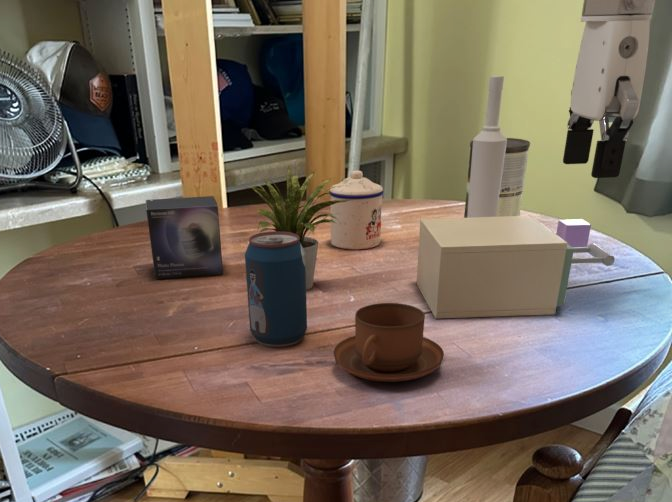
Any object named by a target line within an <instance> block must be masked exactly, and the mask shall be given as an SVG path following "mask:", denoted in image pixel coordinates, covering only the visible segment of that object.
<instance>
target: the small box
mask: <svg viewBox="0 0 672 502" xmlns="http://www.w3.org/2000/svg"><path fill="white" fill-rule="evenodd" d="M218 207H219V206H218V202H217V200H216V198H215V196H213V195H210V196H207V195H206V196H190V197H173V198H156V199H155V198H154V199H146V200H145V212H146V218H147V226H148V234H149V235H148V236H149V241H150V249H151V257H152V263H153V272H154V278H155V280H162V279H177V278H188V277H189V278H190V277H202V276H203V277H205V276H221V275H224V267H223V253H222V243H221V228H220V217H219V208H218Z"/></svg>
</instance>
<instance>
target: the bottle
mask: <svg viewBox="0 0 672 502" xmlns="http://www.w3.org/2000/svg"><path fill="white" fill-rule="evenodd" d="M504 78H505V76H503V75H491V76H489V80H488V81H489V82H488V90H487V91H488V95H487V102H486V103H487V104H486V112H485V115H486V116H485V123H484V125H483V126H482V127H481V128H482V130H481V131H480V132H479V133H478V134H477V135H476V136H475V137H474V138H473V139H472V141H473V149H472V162H471V174H470V187H469V200H468V213H467V218H473V217H496V216H497V209H498V202H499V194H500V187H501V180H502V173H503V166H504V158H505V151H506V144H507V138H508V137H506V136H505V135H504V133H503V132H502V131H501V127H500V126H499V120H500V112H501V104H502V103H501V102H502V94H503V92H502V91H503V89H504Z"/></svg>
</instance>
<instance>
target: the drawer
mask: <svg viewBox="0 0 672 502" xmlns="http://www.w3.org/2000/svg"><path fill="white" fill-rule="evenodd" d="M574 253H575V254H577V253H578V254H580V253H588V254H589V255H591V256H589V257H573V256H574ZM615 259H616V257H615V256H614V255H612V254H611V253H609V252H608V251H607V250H605V249H604V248H602V247H601V246H599V245H598V244H596V243H590V244H589V245H587V247H571V246H570V245H568V244H567V249H566V254H565V260H564V266H563V272H562V277H561V283H560V289H559V294H558V300H557V306H556V307H564V306H565V300H566V295H567V290H568V284H569V278H570V273H571V267H572V265H573V264H574V265H575V264H577V265H578V264H603V265H605V266H607V267H610V266H612V265H614V263H615Z"/></svg>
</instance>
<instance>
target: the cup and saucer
mask: <svg viewBox="0 0 672 502" xmlns="http://www.w3.org/2000/svg"><path fill="white" fill-rule="evenodd" d="M425 316H426V315H425V313H424V311H423V310H422V309H420V308H418V307H416V306H413V305H410V304H405V303H399V302H398V303H397V302H379V303H372V304H369V305H365V306H363V307H360V308H359V309H358V310H356V312H355V316H354V317H355V319H354V320H355V322H354V323H355V324H354V325H355V327H354V328H355V329H354V330H355V331H354V333H355V334H354V335H353V336H349V337H347V338H345V339H343V340H341V341H340V342H339V343H337V344H336V346H335V347H334V349H333V358H334V361H335V362H336V364H337V365H338V366H339V367H341V368H342V370H344V371H346V372H347V373H349V374H350V375H352V376H355V377H358V378H360V379H365V380H369V381H373V382H374V381H375V382H384V383H385V382H387V383H392V382H393V383H394V382H405V381H410V380H415V379H419V378H422V377H425V376H427V375H428V374H430V373H432V372H434V371H435V370H436V369H437V368H438V367H440V365H441V364H442V362H443V360H444V357H445V352H444V350H443V348H442V347H441V345H439V344H438V343H437V342H435V341H433V340H432V339H429V338H428V337H424V331H425V330H424V329H425V320H426V319H425V318H426V317H425Z"/></svg>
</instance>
